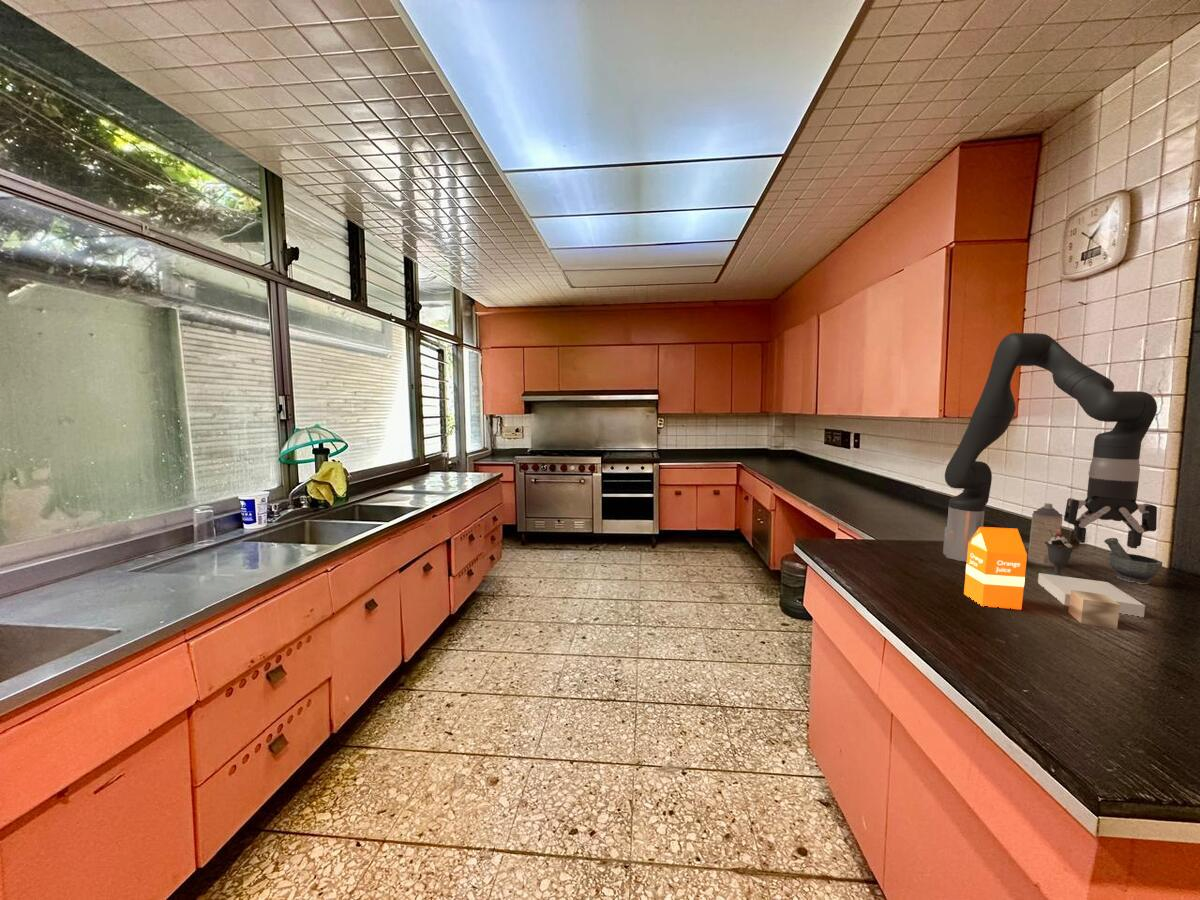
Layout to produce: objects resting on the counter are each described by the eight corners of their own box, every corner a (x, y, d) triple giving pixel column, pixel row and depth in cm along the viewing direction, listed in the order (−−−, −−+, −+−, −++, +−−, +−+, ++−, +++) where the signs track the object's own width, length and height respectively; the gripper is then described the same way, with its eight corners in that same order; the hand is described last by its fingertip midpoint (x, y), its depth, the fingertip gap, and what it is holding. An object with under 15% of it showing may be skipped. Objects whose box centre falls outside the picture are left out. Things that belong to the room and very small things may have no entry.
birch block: (1080, 623, 102) (1083, 599, 102) (1068, 612, 107) (1070, 589, 107) (1117, 629, 99) (1120, 604, 99) (1102, 618, 105) (1105, 594, 104)
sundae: (1057, 572, 133) (1063, 525, 132) (1079, 581, 126) (1085, 532, 125) (1034, 572, 134) (1039, 525, 132) (1055, 580, 127) (1060, 531, 126)
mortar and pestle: (1154, 580, 127) (1160, 541, 126) (1163, 590, 121) (1169, 548, 119) (1097, 570, 135) (1102, 533, 134) (1102, 579, 128) (1107, 540, 127)
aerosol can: (1063, 566, 138) (1069, 505, 136) (1047, 568, 137) (1053, 506, 135) (1037, 559, 145) (1043, 501, 143) (1022, 560, 144) (1028, 502, 142)
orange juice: (1022, 609, 109) (1030, 533, 107) (982, 606, 111) (989, 530, 109) (1000, 596, 117) (1007, 524, 115) (963, 593, 118) (969, 522, 116)
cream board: (1064, 605, 111) (1065, 593, 111) (1037, 582, 125) (1038, 572, 125) (1143, 617, 105) (1145, 605, 105) (1106, 592, 119) (1107, 582, 119)
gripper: (1078, 477, 100) (1071, 544, 102) (1170, 481, 94) (1161, 554, 95) (1063, 473, 107) (1056, 536, 108) (1147, 477, 100) (1139, 544, 102)
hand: (1105, 544), depth 102 cm, fingers open, 8 cm apart
